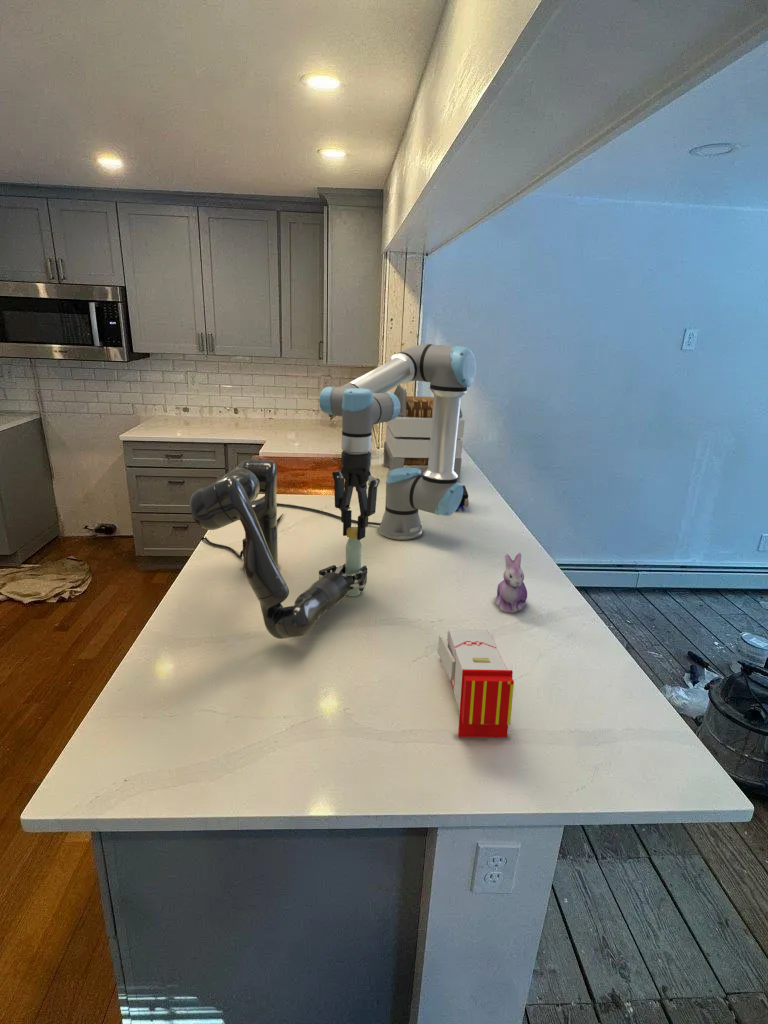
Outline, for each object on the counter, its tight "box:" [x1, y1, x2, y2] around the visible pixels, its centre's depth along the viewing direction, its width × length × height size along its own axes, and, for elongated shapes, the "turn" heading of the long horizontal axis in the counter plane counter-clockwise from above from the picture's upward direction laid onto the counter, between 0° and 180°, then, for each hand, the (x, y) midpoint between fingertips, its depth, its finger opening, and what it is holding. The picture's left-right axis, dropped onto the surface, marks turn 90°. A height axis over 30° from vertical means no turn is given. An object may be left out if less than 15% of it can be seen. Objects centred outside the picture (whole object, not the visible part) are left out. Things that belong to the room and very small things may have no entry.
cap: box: [345, 526, 358, 539], centre depth 151 cm, size 4×4×2 cm
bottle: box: [344, 538, 363, 597], centre depth 154 cm, size 4×4×18 cm
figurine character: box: [455, 484, 470, 512], centre depth 229 cm, size 7×8×15 cm
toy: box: [437, 628, 515, 738], centre depth 117 cm, size 12×13×30 cm
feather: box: [277, 513, 284, 525], centre depth 210 cm, size 2×28×2 cm
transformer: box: [383, 384, 465, 483], centre depth 268 cm, size 34×33×41 cm
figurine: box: [495, 552, 528, 614], centre depth 152 cm, size 9×10×15 cm
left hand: (357, 567), depth 158 cm, fingers closed on bottle, 4 cm apart
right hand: (354, 536), depth 152 cm, fingers closed on cap, 4 cm apart
